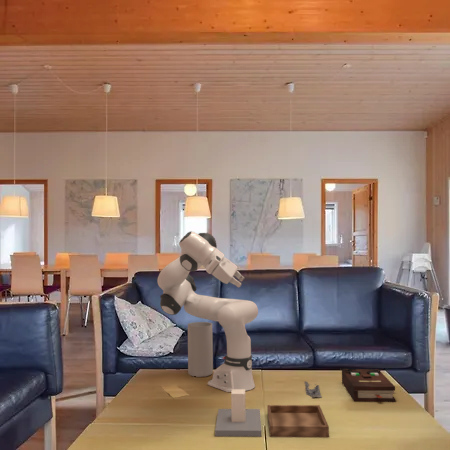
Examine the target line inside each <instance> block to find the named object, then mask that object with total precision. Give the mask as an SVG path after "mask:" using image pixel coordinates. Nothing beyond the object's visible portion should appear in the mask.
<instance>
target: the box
mask: <svg viewBox="0 0 450 450" xmlns="http://www.w3.org/2000/svg"><path fill="white" fill-rule="evenodd" d="M266 406H267V419H268V420H267V422H268V427H269V428H268V429H269V437H271V438H273V437H275V438H276V437H281V438H282V437H283V438H284V437H285V438H286V437H287V438H291V437H292V438H293V437H295V438H301V437H302V438H330V426H329V424H328V421H327V420H326V418H325V414H324V412H323V411H322V408H321V406H320V404H318V405H317V404H316V405H315V404H312V405H311V404H309V405H308V404H306V405H304V404H299V405H298V404H268V405H266Z"/></svg>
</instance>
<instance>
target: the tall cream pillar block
mask: <svg viewBox="0 0 450 450" xmlns="http://www.w3.org/2000/svg"><path fill="white" fill-rule="evenodd" d="M230 396H231V397H230V399H231V408H230V409H232V422H246V413H245V409H246V391H245V389H232V392H231V395H230Z"/></svg>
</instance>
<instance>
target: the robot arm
mask: <svg viewBox="0 0 450 450" xmlns="http://www.w3.org/2000/svg"><path fill="white" fill-rule="evenodd" d="M178 245H179V247H180V249H181V251H180V252H181V253H180V256H179V257H178V258H176V259H174V260H173V261H171V262H170V263H168V264H167V265H165V267H163V269H161V271H160V272H159V274H158V276H157V285H158V287H159V288H160V289H161V290H162V291H163V292H162V294H160V302H159V306H160V308H161V310H162V311H163V312H164V313H166V314H169V315H171V316H175V315H177V314H179V313H180V312H181V310H182V309H184V311H185V313H187V314H189V316H190V315H191V316H193V317H196V318H199V319H203V320H209V321H213V322H218V323H219V325H220V326H221V327H222V329H223V331H224V334H225V338H226V355H225V356H222V360H224V361H223V363H221V365H220V366H218V367H217V368H215V369H214V370H213V373H212V379H210V380H208V381H207V385H208V386H210V387H212V388H216V389H218V390H222V391H223V392H227V393H230V392H232V389H245V392H246V391H250V390H253V389H255V387H256V385H255V381H254V377H253V369H252V368H253V367H252V366H253V356H252V346H251V345H252V343H251V342H252V341H251V339H252V338H251V337H250V336H249V335H248V333H247V330H246V325H247V324H249V323H251V322H253V321H254V320H255V319H257V317H258V315H259V308H258V305H257V304H256V303H255V302H254V301H252V300H247V299H237V298H223V297H216V296H215V297H214V296H210V295H204V294H203V295H202V294H198V293H196V291H197V286H196V282H195V280H194V277H192V275H190V272H197V271H198V270H199V269H200V268H201V267H202V266H203V267H204V268H205V271H206V272H207V273H208V274H210V275H212V276H213V277H215V278H216V279H217V280H218V281H220V282H221V283H223V284H226V285H228V284H229V283H230V284H233V285H234V286H236V287H237V288H240V287H241V286H242V284H243V283H242V282H243V281H244V280H245V277H244V276H243V275H242V274H241V273H240V272H239V271H238V269H239V267H238V266H237V265H236V264H235V263H234V262H232V261H231V260H230V259H228V258H227V257H225V254H224V253H223V252H222V251H220V250H219V249H218V248H217V240H216V238H215V237H214V236H213V235H212V234H211V233H208V232H199V233H196V232H195V231H192V230H191V231H188V232H187V233H186V234H185V235H184V236H183V237H182V238H181V239H180V240H179V243H178ZM236 278H237V279H238V280H237V279H236Z"/></svg>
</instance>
